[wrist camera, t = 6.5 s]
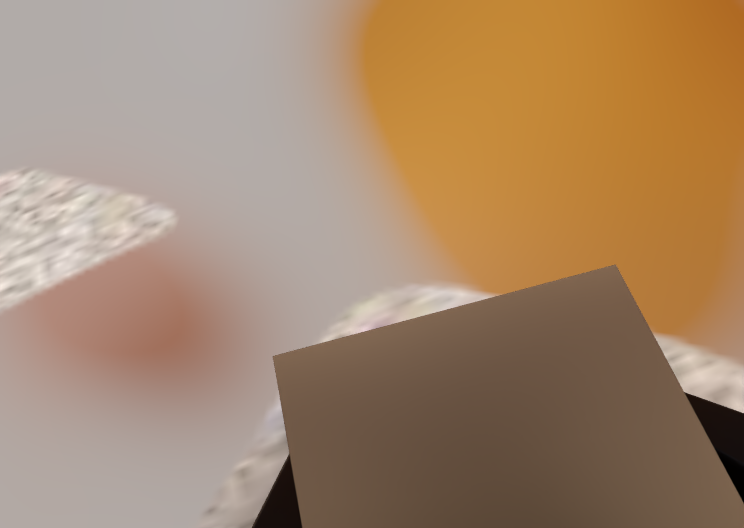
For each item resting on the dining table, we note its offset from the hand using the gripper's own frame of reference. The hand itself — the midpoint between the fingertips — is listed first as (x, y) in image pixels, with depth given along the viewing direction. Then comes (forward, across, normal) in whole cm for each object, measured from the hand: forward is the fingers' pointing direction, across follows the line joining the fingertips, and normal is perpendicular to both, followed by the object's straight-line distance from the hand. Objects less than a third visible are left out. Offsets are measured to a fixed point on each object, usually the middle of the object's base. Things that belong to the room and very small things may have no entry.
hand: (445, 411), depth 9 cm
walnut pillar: (+4, 0, +6) cm, 7 cm away
